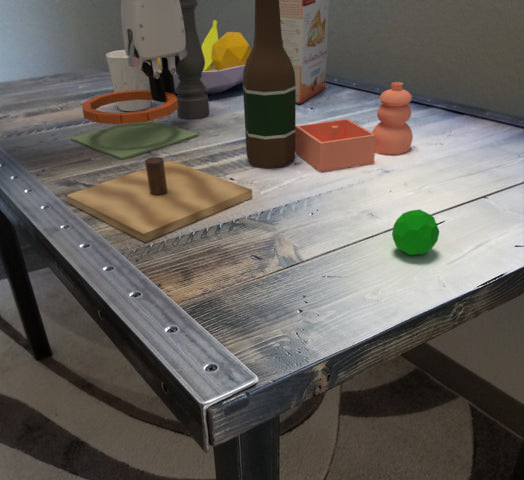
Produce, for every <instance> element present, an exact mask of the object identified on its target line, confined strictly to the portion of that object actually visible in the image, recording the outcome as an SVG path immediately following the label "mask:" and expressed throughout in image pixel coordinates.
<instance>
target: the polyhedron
mask: <svg viewBox="0 0 524 480" xmlns="http://www.w3.org/2000/svg"><path fill="white" fill-rule="evenodd" d="M391 236H392V240H393V242H394V244H395V247H396V248H397V249H399V250H400V251H402V252H404V253H405V254H407V255H409V256H410V257H412V256H419V255H420V256H421V255H423V254H427V253H429V252H430V250H432V249H433V248H434V246H435V245H436V244H437V243H438V240H439V236H440V229H439V227H438V224H437V221H436V219H435V217H434V216H433V215H431V214H429V213H428V212H426V211H424V210H422V209H420V208H419V209H411V210H408V211H406V212H402V214H401V215H400V216H399V217H397V219H396V220H395V222H394V224H393V227H392V231H391Z"/></svg>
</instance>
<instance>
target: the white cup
mask: <svg viewBox="0 0 524 480" xmlns="http://www.w3.org/2000/svg"><path fill="white" fill-rule="evenodd" d="M105 57H106V62H107V66H108V71H109V76H110V81H111V85H112V88H113V92H119V91H129V90H150V83H149V77H147V76H146V75H145V73H144V72H143V71H142V70H141V69H138V68H134V67H130V66H129V65H128V60H129V56H128V55H127V54H126V52H125V49H120V50H119V49H118V50H114V51H113V50H112V51H109V52H107V53H106V54H105ZM139 59H140V61H142V59H141V58H140V57H139ZM116 105H117V109H118V110H119V111H122V112H134V111H144V110H147V109H150V108H152V100H130V101H120V102H116Z"/></svg>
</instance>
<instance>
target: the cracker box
mask: <svg viewBox="0 0 524 480" xmlns="http://www.w3.org/2000/svg"><path fill="white" fill-rule="evenodd" d="M279 6H280V21H281V36H282V42H283V48H284V50H285V51H286V53H287V55H288V56H289V58H290V60H291V63H292V66H293V69H294V72H295V85H296V104H300V105H302V104H303V103H305V102H306V101H308V100H309V99H311V98H312V97H314V96H316V95H317V94H319V93H321V92H322V91H323V90H326V86H327V85H326V84H327V83H326V82H327V61H328V39H329V38H328V36H329V15H330V0H279Z"/></svg>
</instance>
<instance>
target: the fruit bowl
mask: <svg viewBox="0 0 524 480" xmlns="http://www.w3.org/2000/svg"><path fill="white" fill-rule="evenodd" d="M218 24H219V23H218V20H216V19H214V20H213V21H212V24H211V25H212V26H211V28H210V30H209V32H208V33H207V35H206V37H205V38H204V40H203V42H202V43H201V44H200V45H201V48H202V52H203V55H204V58H205V67H204V69H203V71H202V73H201V75H202V77H201V79H200V81H202V83H203V85H204V86H205V87H206V91H205V92H204V93H205V94H207V95H209V94H210V95H212V94H222V93H223V92H225V91H227V90H230V89H232V88H233V87H235V86H237V85H239V84H241V83H243V71H244V68H245V64H246V60H247V58H248V56H249V55H250V53H251V51H252V48H251V46H250V44H249V43H248V41H247V39H246V38H245V37H244V35H243V33H241V32H240V31H239V32H238V31H227V32H226V33H224V34H223V35H222V36H221V37H220V38H219V31H218ZM167 59H168V58H167ZM157 60H158V66H159V72H160V73H162V71H161V65H160V57H159V58H157ZM173 78H174V87H175V95H176V94H177V95H179V94H178V93H177V92H176V88H177V87H178V84H179V82H180V80H179V79H178V74H177V73H175V74H174V75H173Z"/></svg>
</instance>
